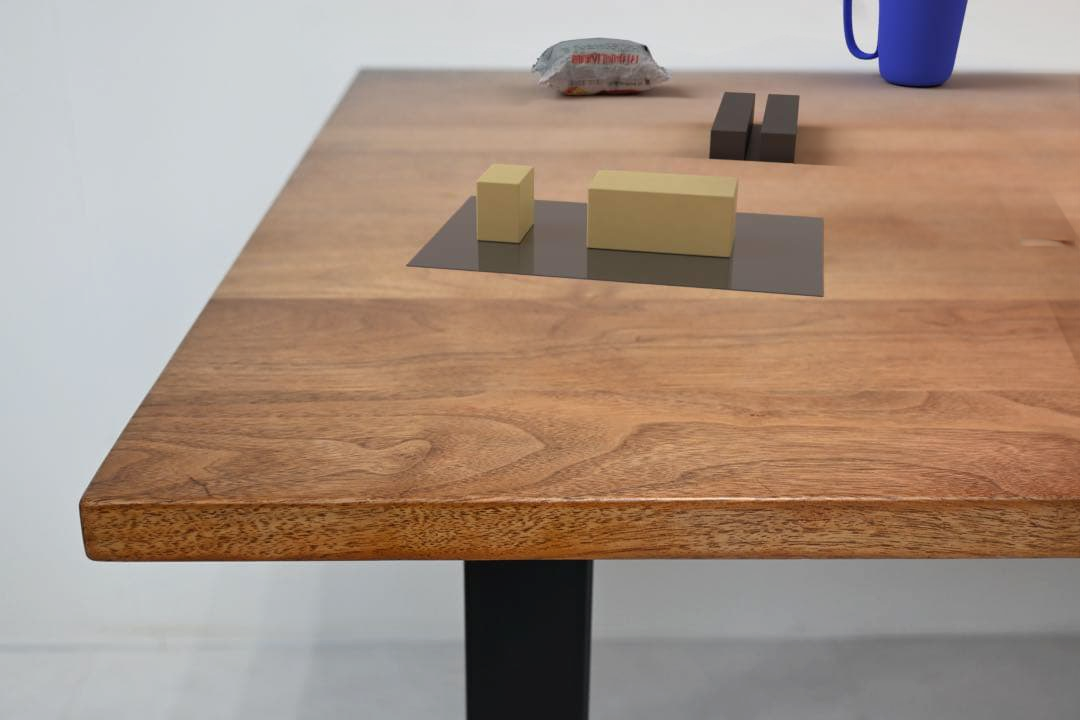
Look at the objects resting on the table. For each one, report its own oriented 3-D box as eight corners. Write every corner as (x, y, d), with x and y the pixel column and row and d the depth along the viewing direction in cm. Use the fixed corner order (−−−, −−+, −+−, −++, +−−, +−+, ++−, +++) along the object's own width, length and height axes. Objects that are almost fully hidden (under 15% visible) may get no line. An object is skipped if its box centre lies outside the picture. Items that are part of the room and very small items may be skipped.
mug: (852, 67, 129) (862, -35, 125) (969, 80, 123) (984, -27, 119) (819, 79, 123) (829, -27, 119) (941, 93, 116) (955, -18, 113)
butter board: (821, 236, 76) (823, 217, 76) (821, 318, 64) (823, 296, 63) (471, 213, 80) (470, 195, 80) (406, 286, 68) (405, 265, 67)
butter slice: (534, 223, 74) (534, 165, 73) (519, 243, 71) (519, 183, 70) (493, 220, 75) (492, 163, 74) (476, 240, 71) (475, 180, 70)
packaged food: (670, 103, 112) (672, 46, 110) (537, 105, 111) (538, 48, 109) (653, 85, 120) (655, 32, 118) (529, 87, 119) (529, 34, 117)
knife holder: (796, 132, 102) (799, 95, 101) (792, 175, 89) (796, 134, 88) (722, 128, 103) (724, 91, 102) (708, 171, 90) (710, 129, 89)
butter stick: (734, 236, 72) (738, 177, 71) (730, 258, 69) (734, 196, 67) (597, 227, 74) (599, 169, 72) (586, 248, 70) (587, 187, 69)
